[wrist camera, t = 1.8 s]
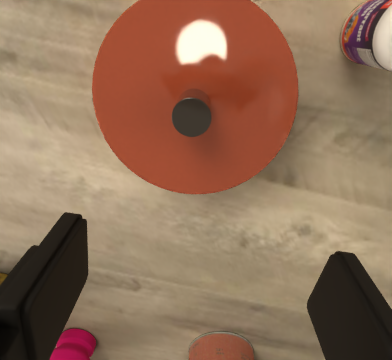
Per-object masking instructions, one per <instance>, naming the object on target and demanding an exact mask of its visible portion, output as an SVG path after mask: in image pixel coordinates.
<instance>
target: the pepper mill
mask: <svg viewBox="0 0 392 360" xmlns="http://www.w3.org/2000/svg"><path fill="white" fill-rule="evenodd" d="M56 346H57V348H55V349H54V350H53V353H52V355H51V357H50V359H49V360H90V358H89V357H91V356H92V354H93V351H94V349H95V346H96V340H95V338H94V337H93V336H92V335H91V334H90V333H88V332H87V331H84V330H81V329H68V330H66V331H64V332H63V333H62V334H61V336H60V338H59V340H58V342H57V345H56Z"/></svg>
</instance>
